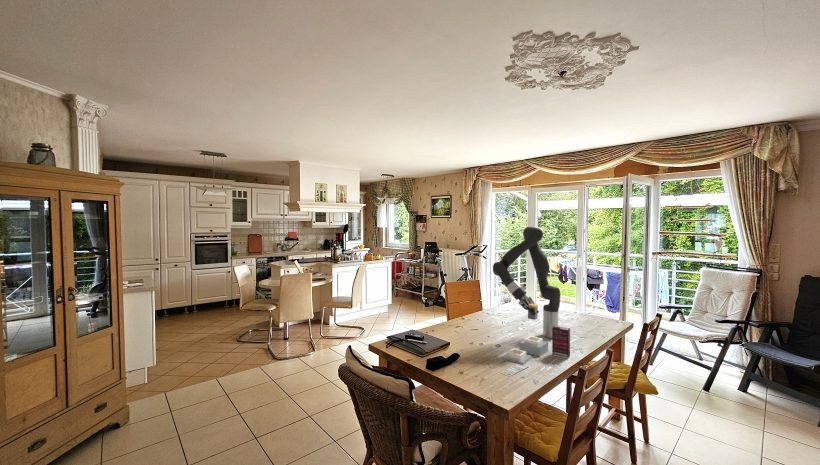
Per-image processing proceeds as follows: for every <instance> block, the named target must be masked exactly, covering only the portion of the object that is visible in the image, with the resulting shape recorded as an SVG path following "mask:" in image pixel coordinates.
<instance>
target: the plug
mask: <svg viewBox="0 0 820 465" xmlns="http://www.w3.org/2000/svg"><path fill="white" fill-rule="evenodd" d="M530 306H531V308H532V309H533V310H534V311H535V313H536V314H535V315H534V316H533V315H532V314H531V313H530V312H529V310H527V319H529V320H537V319H538V314H539V313H537V311H539V309H538V308H539V306H538V304H536V303H535V304H530Z"/></svg>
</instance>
